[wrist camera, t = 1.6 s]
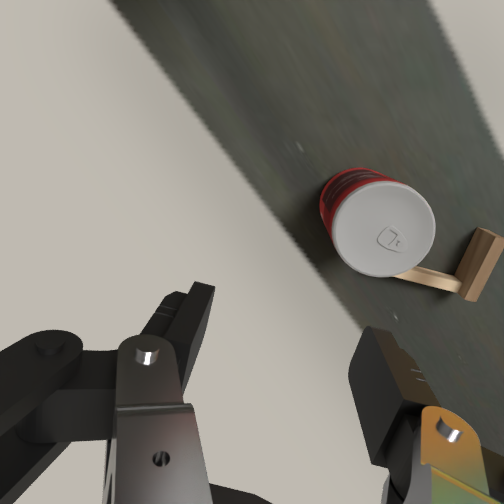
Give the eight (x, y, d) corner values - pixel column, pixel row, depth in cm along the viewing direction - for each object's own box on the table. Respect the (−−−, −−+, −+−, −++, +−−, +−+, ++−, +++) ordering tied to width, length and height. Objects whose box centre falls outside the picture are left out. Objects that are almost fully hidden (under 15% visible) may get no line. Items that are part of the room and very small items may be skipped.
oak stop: (367, 264, 40) (375, 276, 37) (390, 204, 38) (401, 212, 34) (459, 287, 40) (475, 302, 37) (488, 229, 38) (508, 239, 35)
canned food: (374, 248, 39) (408, 291, 29) (307, 224, 39) (316, 259, 29) (407, 182, 37) (456, 203, 26) (334, 155, 37) (356, 167, 26)
